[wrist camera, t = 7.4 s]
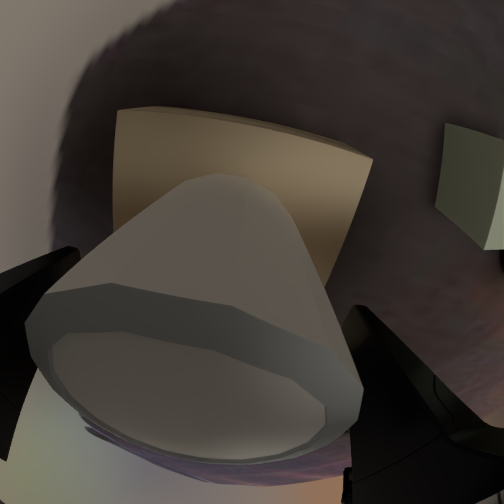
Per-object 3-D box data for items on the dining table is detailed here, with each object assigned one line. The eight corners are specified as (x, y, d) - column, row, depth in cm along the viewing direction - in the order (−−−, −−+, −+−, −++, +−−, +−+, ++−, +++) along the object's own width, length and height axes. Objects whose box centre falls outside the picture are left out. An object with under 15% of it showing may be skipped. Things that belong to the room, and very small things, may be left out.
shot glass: (122, 165, 9) (-29, 276, 3) (319, 153, 8) (433, 286, 2) (158, 310, 12) (108, 445, 6) (306, 312, 12) (325, 466, 6)
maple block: (293, 290, 16) (299, 341, 13) (146, 261, 16) (120, 305, 12) (342, 142, 12) (373, 159, 8) (157, 106, 11) (117, 110, 8)
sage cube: (486, 210, 13) (532, 248, 9) (433, 206, 13) (483, 249, 9) (497, 138, 10) (552, 162, 6) (444, 122, 11) (506, 141, 6)
